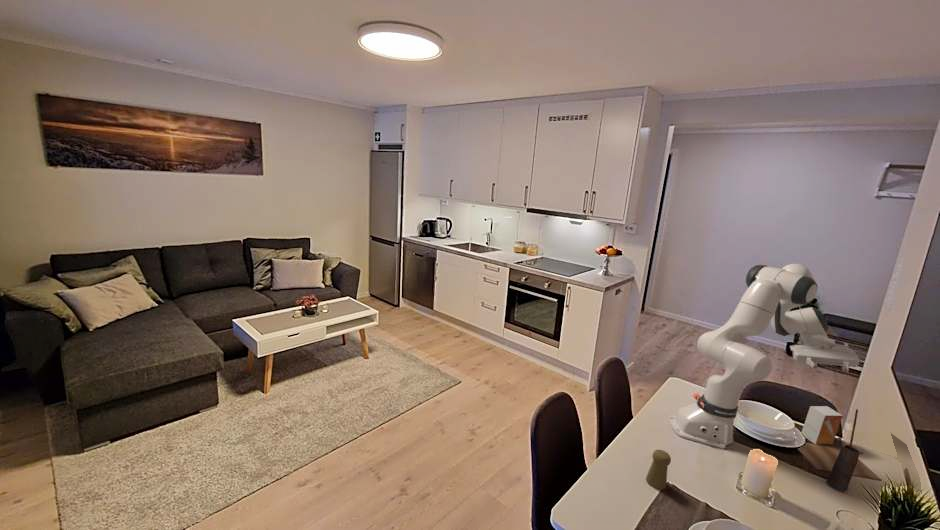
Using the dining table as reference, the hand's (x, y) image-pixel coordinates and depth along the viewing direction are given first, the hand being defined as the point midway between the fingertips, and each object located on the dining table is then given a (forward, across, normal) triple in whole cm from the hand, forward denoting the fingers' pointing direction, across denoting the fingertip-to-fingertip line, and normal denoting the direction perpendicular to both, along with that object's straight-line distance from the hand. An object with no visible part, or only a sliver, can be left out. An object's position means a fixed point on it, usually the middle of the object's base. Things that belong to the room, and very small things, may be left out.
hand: (830, 368), depth 156 cm
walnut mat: (+25, -2, +22) cm, 33 cm away
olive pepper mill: (+68, -61, 0) cm, 91 cm away
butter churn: (+41, -6, +17) cm, 45 cm away
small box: (+13, -4, +26) cm, 29 cm away
